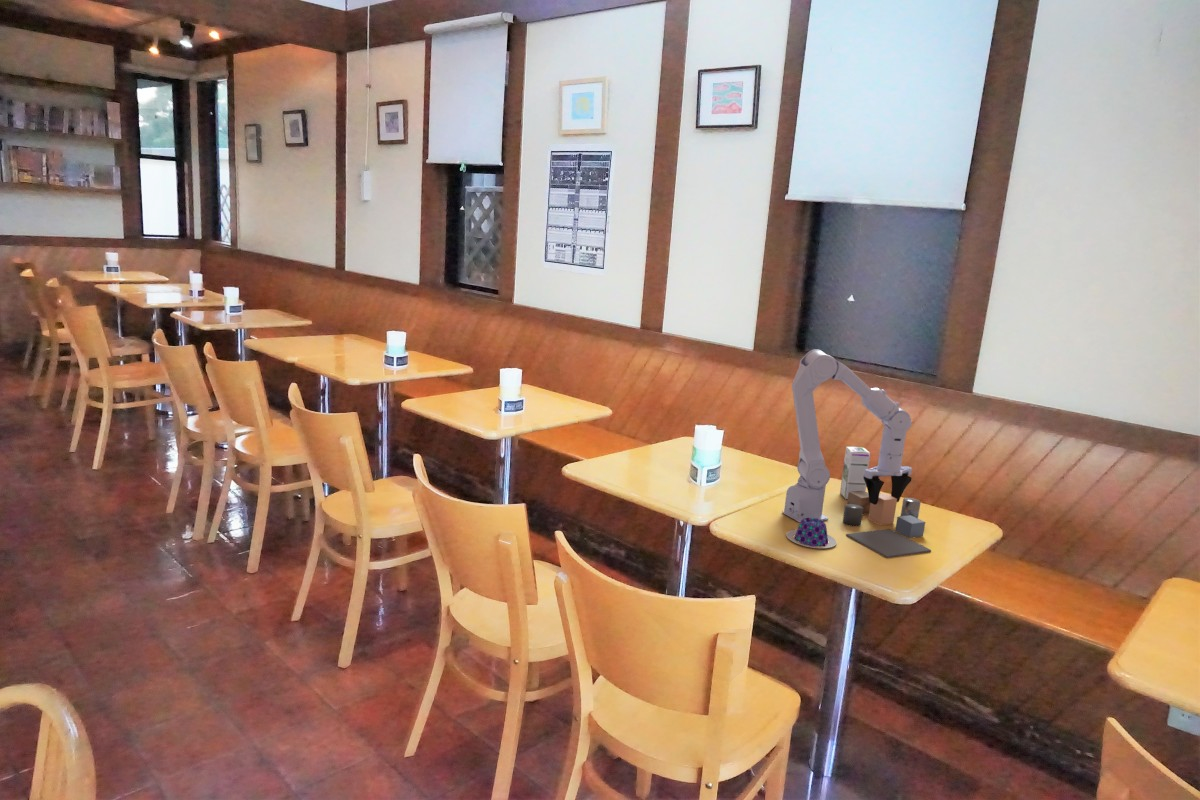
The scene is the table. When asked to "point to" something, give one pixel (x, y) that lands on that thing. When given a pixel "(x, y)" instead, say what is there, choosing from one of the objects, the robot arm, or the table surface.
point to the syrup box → (854, 470)
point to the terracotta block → (883, 510)
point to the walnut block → (860, 500)
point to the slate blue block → (910, 526)
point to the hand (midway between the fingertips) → (883, 502)
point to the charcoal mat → (888, 543)
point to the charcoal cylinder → (852, 515)
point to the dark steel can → (910, 507)
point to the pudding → (811, 534)
